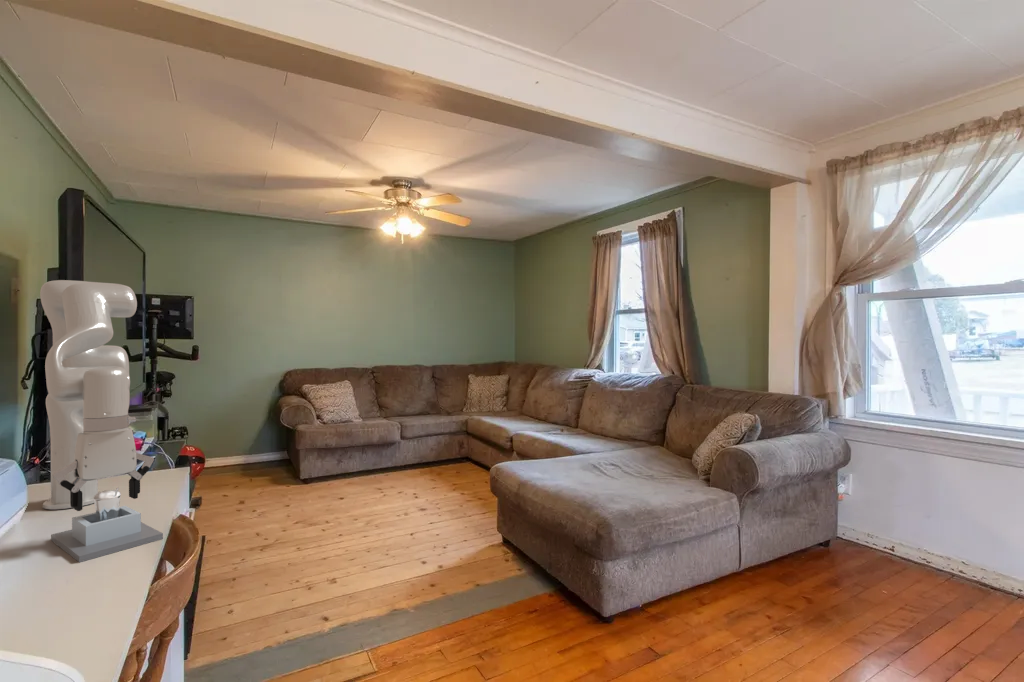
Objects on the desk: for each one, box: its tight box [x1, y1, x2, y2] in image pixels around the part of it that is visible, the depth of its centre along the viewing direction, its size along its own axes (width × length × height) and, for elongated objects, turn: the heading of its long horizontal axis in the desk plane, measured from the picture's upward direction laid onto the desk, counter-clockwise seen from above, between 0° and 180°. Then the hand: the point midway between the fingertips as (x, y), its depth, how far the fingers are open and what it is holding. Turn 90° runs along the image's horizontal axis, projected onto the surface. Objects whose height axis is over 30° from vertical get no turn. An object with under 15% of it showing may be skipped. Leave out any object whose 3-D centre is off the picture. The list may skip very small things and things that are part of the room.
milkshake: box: [93, 487, 122, 522], centre depth 108 cm, size 4×5×10 cm
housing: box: [50, 505, 164, 563], centre depth 107 cm, size 20×14×5 cm
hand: (106, 503), depth 107 cm, fingers open, 9 cm apart
